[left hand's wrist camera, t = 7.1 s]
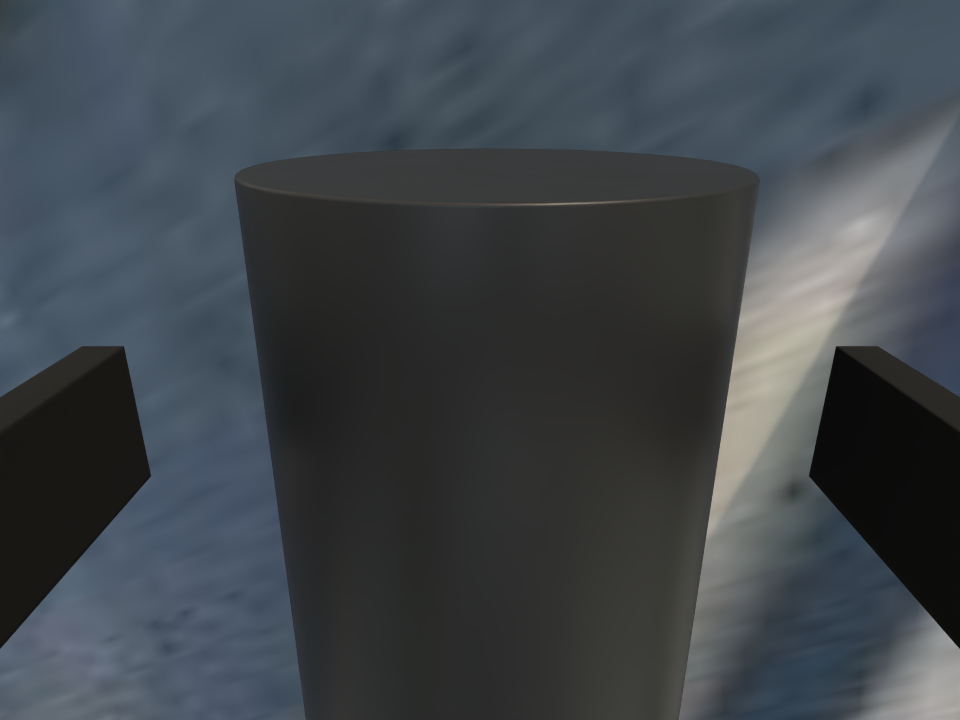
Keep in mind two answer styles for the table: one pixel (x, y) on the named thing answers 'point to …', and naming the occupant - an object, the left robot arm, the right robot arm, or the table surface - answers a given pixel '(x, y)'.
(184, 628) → the table surface
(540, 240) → the rod
